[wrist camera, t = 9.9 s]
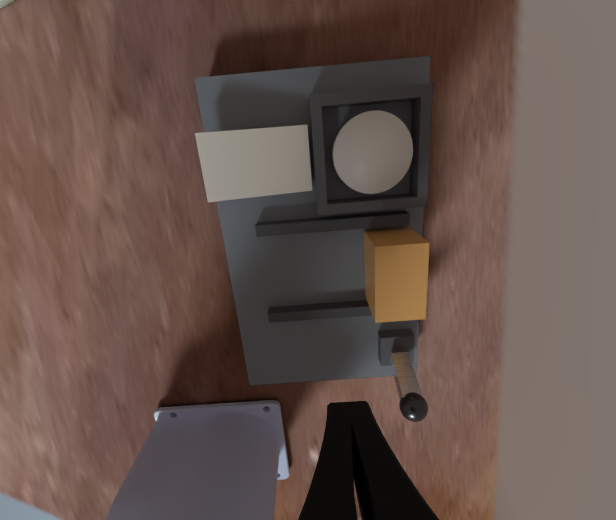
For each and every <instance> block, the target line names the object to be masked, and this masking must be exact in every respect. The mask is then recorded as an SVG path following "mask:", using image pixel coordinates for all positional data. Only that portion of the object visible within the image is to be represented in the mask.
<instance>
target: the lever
mask: <svg viewBox="0 0 616 520" xmlns="http://www.w3.org/2000/svg"><path fill="white" fill-rule="evenodd" d="M390 362H391V366H392V370H393V374H394V378H395V382H396V386H397V390H398V393H399V397H400V410H401V413H402V414H403V416H404V417H405V418H406V419H408V420H410V421H413V422H418V421H421V420H423V419H424V418H425V417H426V415H427V412H428V406H427V403H426V401H425V399H424V398H423V396H422V393H421V390H420V387H419V384H418V381H417V377H416V374H415V371H414V368H413V365H412V361H411V358H410V355H409V352H399V353H391V358H390Z"/></svg>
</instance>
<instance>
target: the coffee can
mask: <svg viewBox="0 0 616 520" xmlns="http://www.w3.org/2000/svg"><path fill="white" fill-rule="evenodd" d="M14 1H15V0H0V9H1V8H3V7H5V6H7V5H9V4H11V3H12V2H14Z"/></svg>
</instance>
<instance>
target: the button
mask: <svg viewBox="0 0 616 520" xmlns="http://www.w3.org/2000/svg"><path fill="white" fill-rule="evenodd" d="M331 156H332V163H333V166H334V169H335V171H336V173H337V175H338V176H339V177H340V179H341V180H342V181H343V182H344V183H345V184H346V185H347V186H349V187H350V188H352V189H353V190H355V191H358V192H361V193H366V194H375V193H380V192H384V191H386V190H388V189H390V188H392V187H393V186H395V185H396V184H397V183H398V182H399V181H400V180H401V179H402V178H403V177H404V176H405V174H406V172H407V171H408V169H409V167H410V164H411V161H412V156H413V143H412V138H411V135H410V133H409V130H408V129H407V127H406V125H405V124H404V123H403V122H402V121H401V120H400V119H399V118H398V117H396V116H395V115H393V114H391V113H388V112H385V111H379V110H376V111H367V112H364V113H361V114H359V115H357V116H355V117H353V118H352V119H350V120H349V121H347V122H346V123H345V124H344V125H343V126H342V127H341V128H340V130H339V131H338V133H337V134H336V136H335V139H334V141H333V145H332V152H331Z"/></svg>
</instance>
